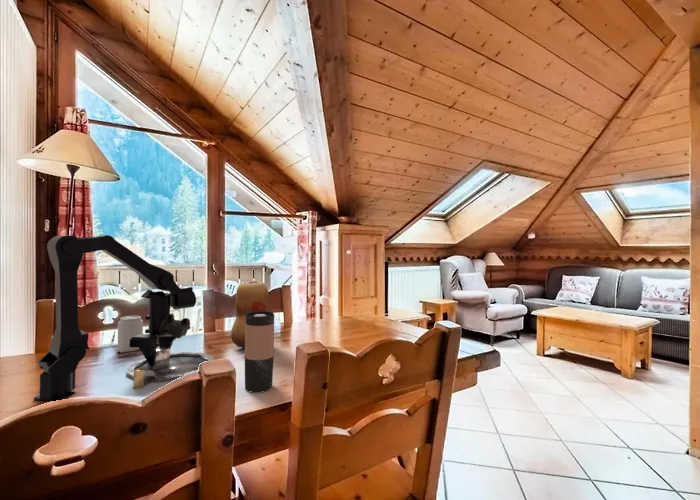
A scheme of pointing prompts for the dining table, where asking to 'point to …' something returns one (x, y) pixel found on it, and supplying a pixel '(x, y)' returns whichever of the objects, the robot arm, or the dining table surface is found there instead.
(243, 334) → the butternut squash
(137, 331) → the can
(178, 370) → the curvy grey metal tray
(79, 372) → the dining table surface
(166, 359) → the cover
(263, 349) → the travel mug
